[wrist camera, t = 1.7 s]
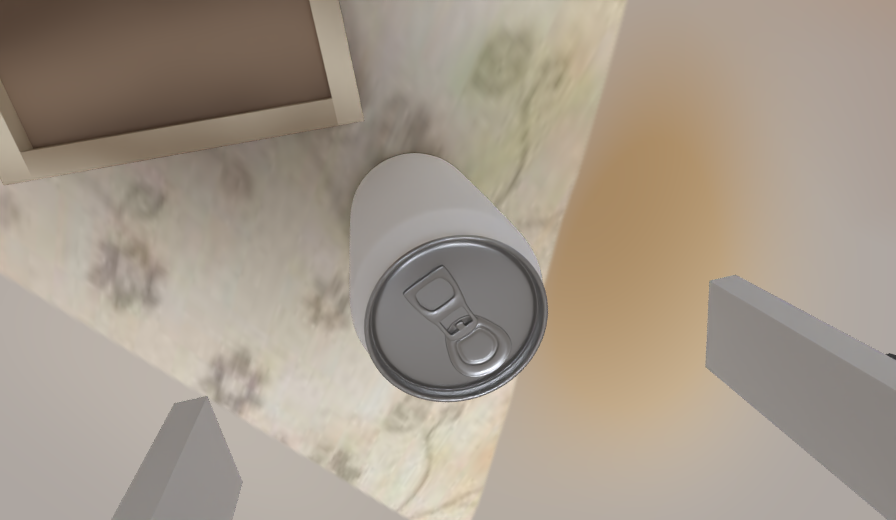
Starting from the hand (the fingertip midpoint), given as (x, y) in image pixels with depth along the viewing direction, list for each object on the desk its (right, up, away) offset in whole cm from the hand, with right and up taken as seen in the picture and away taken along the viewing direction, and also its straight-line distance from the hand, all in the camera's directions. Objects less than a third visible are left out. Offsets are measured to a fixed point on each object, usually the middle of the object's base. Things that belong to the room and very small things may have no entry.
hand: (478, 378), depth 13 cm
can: (-3, +6, +13) cm, 15 cm away
